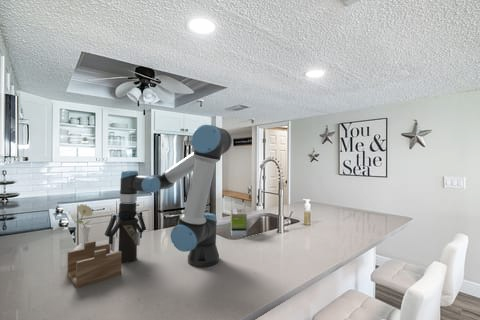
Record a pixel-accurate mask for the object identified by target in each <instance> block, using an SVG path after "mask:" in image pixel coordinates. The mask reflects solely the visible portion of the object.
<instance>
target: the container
mask: <svg viewBox="0 0 480 320" xmlns="http://www.w3.org/2000/svg"><path fill="white" fill-rule="evenodd" d="M134 218H135V219H126V220H125V221H122V222H121V226H120V227H119V229H118V251H121V252H122V256H121V263H132V262H134V261H136V260H137V258H138V256H137V254H138V252H137V251H138V249H137V231H138V230H137V223H138V224H139V219H138V217H134ZM118 220H119V219H118ZM120 221H121V220H119V222H120ZM118 251H117V252H118Z"/></svg>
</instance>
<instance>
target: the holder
mask: <svg viewBox="0 0 480 320" xmlns="http://www.w3.org/2000/svg"><path fill="white" fill-rule="evenodd" d="M96 243H97V241H96V240H92V241H91V240H89V242H85V243H84V248H82V249H78V250H74V249H73V250H69V251H67V266H66V269H67V270H66V272H67V273H66V274H67V277H68V278H69V279H70V281H71V283H73V285H74V287H75V288H76V289H78V288H81V287H84V286H88V285H91V284H95V283H98V282H101V281H104V280H107V279H111V278H114V277H117V276H119V275H121V274H122V262H121V256H122V252H121V251H113V252H111V250H110V248H111V244H109V242H105V243H102V244H96Z"/></svg>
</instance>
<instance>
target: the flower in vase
mask: <svg viewBox="0 0 480 320" xmlns="http://www.w3.org/2000/svg"><path fill="white" fill-rule="evenodd" d="M76 211H77V212H78V213H79V215H81V219H76V221H75V223H76V224H79V225H80V224H82V225H83V226H80V227H79V228H80V230H81V232H82V242H81V243H80V244H78V245H77V246H76V247H74V249H73V250H78V249H82V248H84V243H85V242H90V239H89V233H90V230H91V228H92V227H93V226H92V225H86V224H89V223H90V222H91V220H89V221H86V222H85V223H84V222H83V216H85V217H91V216H93V209H92V207H90V206H89V205H87V204H80V205H77V206H76Z"/></svg>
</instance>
